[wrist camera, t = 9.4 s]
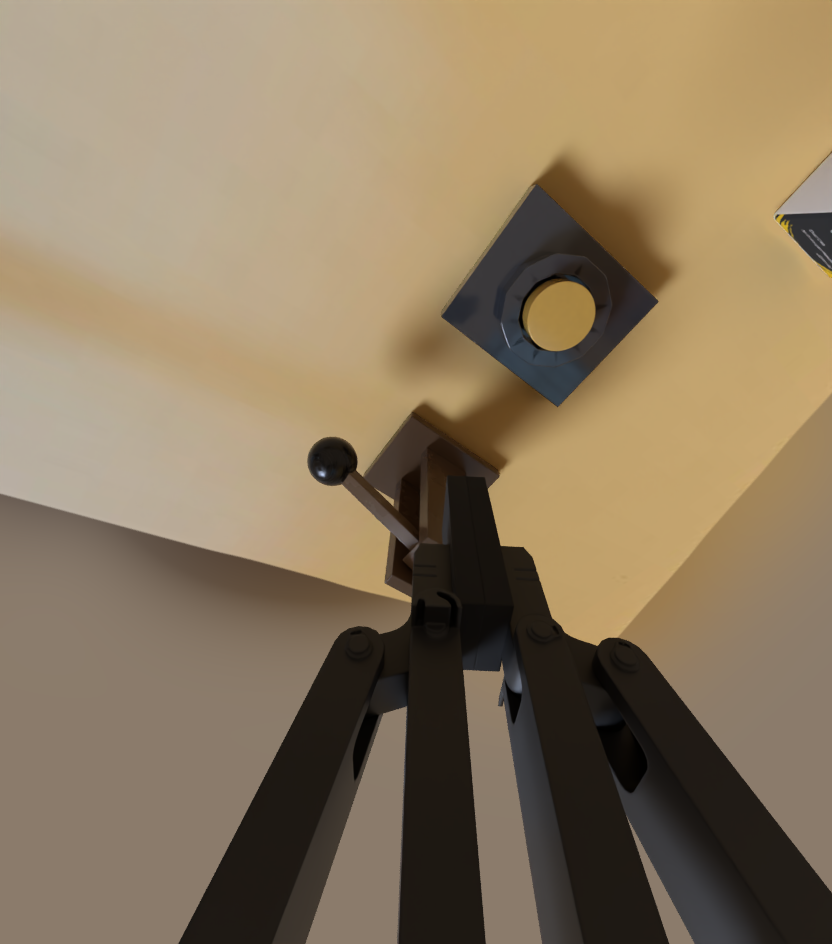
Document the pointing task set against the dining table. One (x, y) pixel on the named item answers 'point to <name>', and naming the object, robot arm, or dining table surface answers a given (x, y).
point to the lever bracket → (420, 485)
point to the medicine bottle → (811, 216)
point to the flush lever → (359, 488)
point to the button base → (521, 271)
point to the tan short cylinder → (558, 314)
